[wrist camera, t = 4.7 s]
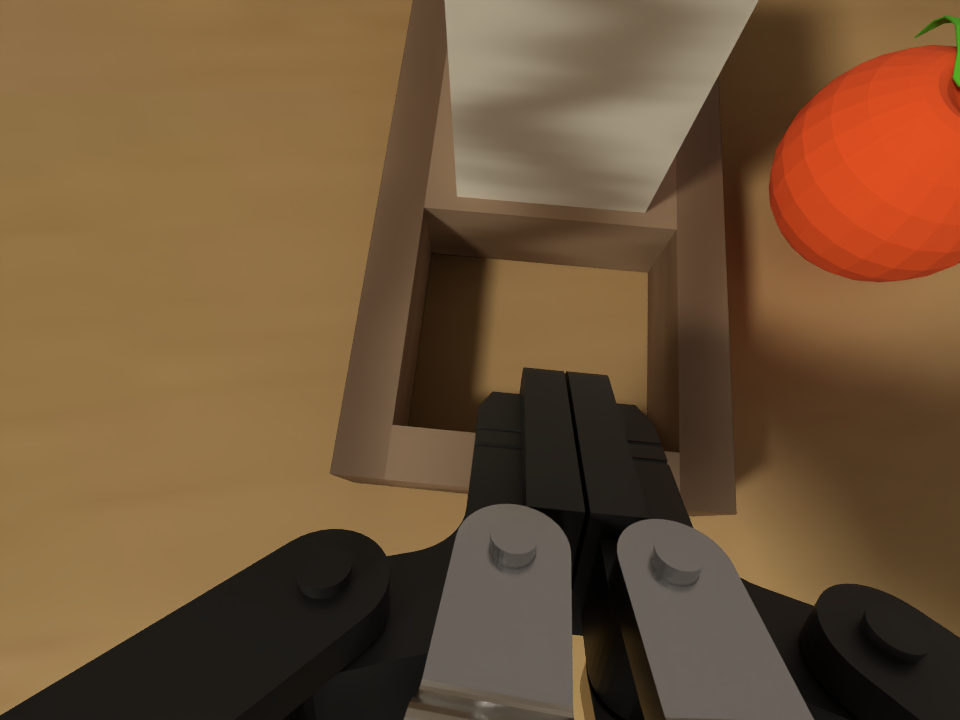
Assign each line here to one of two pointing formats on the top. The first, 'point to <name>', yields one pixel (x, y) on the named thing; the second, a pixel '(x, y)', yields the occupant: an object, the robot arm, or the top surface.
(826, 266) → the clementine
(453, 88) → the cream block
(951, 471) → the top surface
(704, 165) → the walnut lane
